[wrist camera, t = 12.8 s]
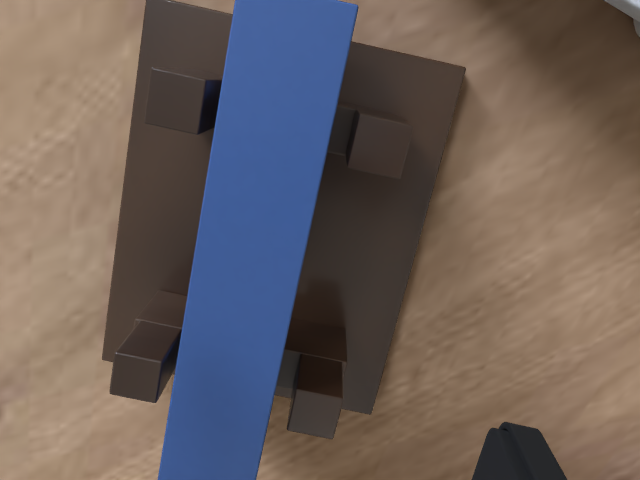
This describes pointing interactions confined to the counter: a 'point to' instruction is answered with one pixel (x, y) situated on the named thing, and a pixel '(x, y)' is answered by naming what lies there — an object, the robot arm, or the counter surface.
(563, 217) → the counter surface
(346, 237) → the holder
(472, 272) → the counter surface
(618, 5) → the door handle
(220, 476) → the blue bar
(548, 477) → the robot arm
